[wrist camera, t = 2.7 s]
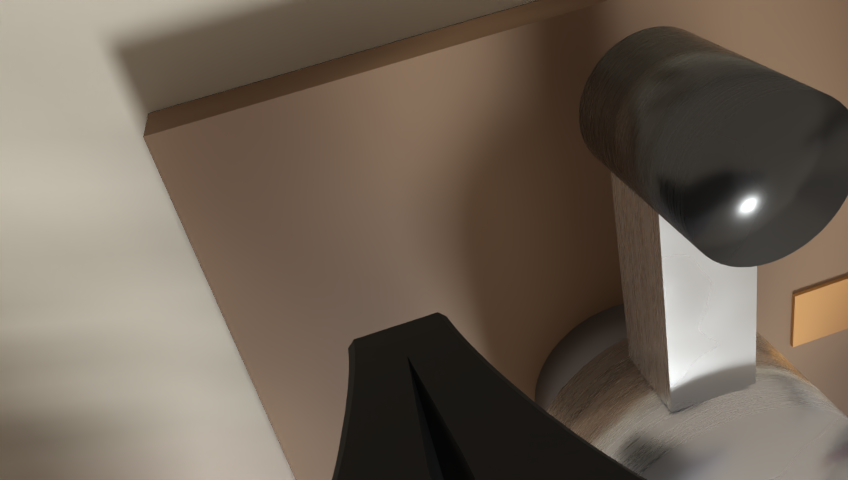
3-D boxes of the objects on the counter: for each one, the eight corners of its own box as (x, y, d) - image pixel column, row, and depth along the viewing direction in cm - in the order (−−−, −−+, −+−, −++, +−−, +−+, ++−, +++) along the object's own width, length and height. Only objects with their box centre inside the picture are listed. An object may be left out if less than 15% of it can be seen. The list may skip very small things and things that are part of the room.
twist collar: (781, 479, 19) (896, 613, 15) (550, 563, 18) (620, 721, 15) (801, -31, 12) (1002, 22, 9) (448, 74, 12) (533, 168, 9)
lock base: (383, 656, 23) (403, 751, 21) (148, 113, 14) (134, 174, 12) (897, 467, 25) (969, 536, 23) (990, -131, 16) (1129, -122, 13)
